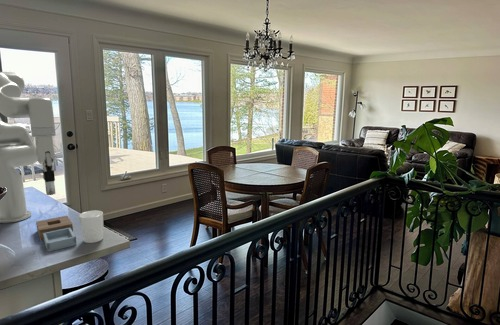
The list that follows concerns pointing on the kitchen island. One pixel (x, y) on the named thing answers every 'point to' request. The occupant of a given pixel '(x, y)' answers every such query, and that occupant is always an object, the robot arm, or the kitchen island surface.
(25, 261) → the kitchen island surface
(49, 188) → the pin
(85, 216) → the white cup
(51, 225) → the socket block
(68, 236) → the tray
